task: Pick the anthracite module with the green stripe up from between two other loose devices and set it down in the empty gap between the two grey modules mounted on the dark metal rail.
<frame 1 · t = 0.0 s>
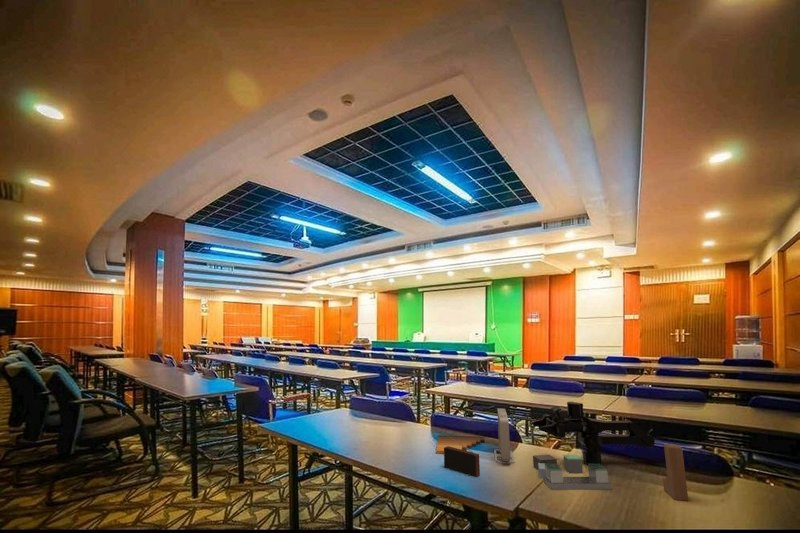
hand: (535, 425, 176), 17 cm above the table, tool horizontal, fingers open, 9 cm apart
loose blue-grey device: (545, 476, 159), on the table
network device: (503, 457, 183), on the table
radio: (459, 471, 165), on the table
module: (573, 471, 164), on the table
wooden block: (675, 496, 140), on the table
pan flute: (461, 448, 197), on the table
rail: (576, 485, 149), on the table
loose black device: (545, 469, 167), on the table
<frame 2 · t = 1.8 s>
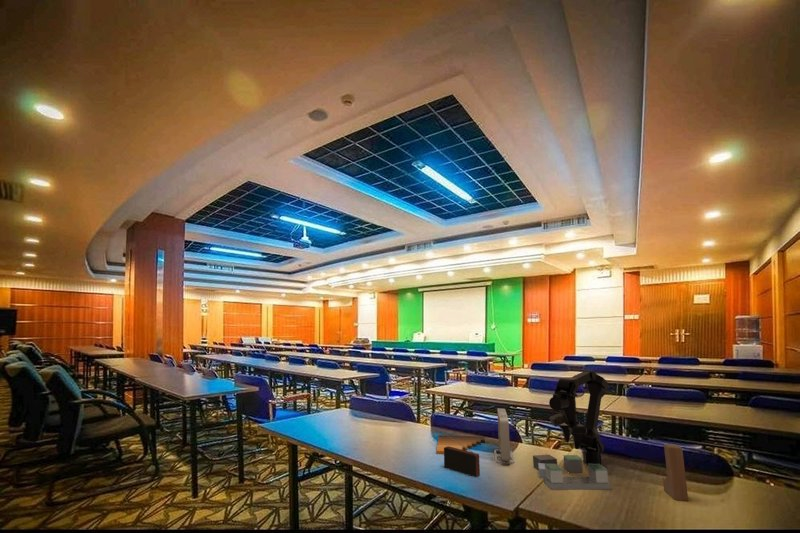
hand: (571, 445, 166), 11 cm above the table, tool pointing down, fingers open, 9 cm apart
nothing on the table moved.
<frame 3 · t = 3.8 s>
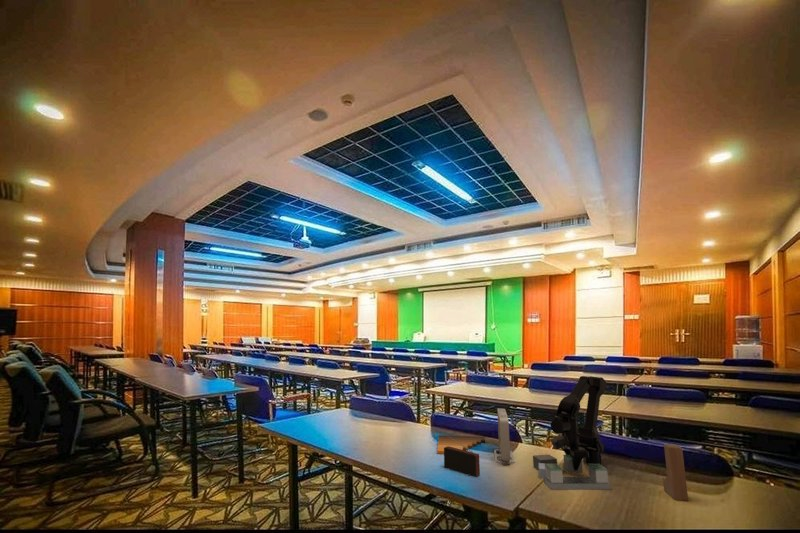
hand: (573, 468, 164), 1 cm above the table, tool pointing down, fingers closed on module, 4 cm apart
module: (573, 471, 164), on the table, touching gripper
everything else where it was.
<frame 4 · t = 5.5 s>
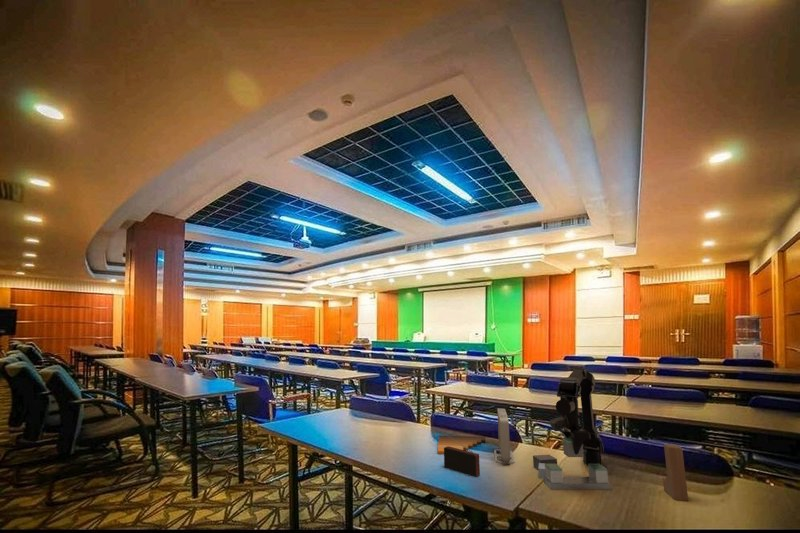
hand: (573, 452, 152), 12 cm above the table, tool pointing down, fingers closed on module, 4 cm apart
module: (573, 455, 152), point 11 cm above the table, touching gripper
everything else where it was.
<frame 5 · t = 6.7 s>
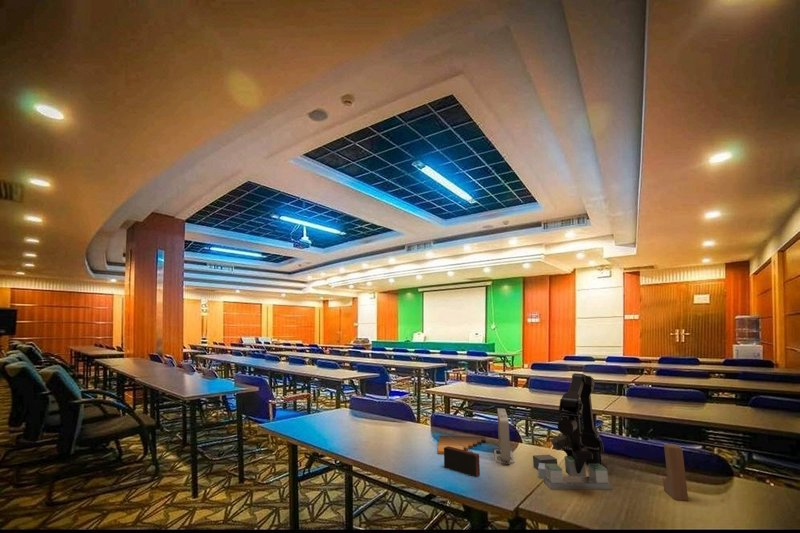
hand: (575, 470, 150), 5 cm above the table, tool pointing down, fingers closed on module, 4 cm apart
module: (575, 474, 150), point 4 cm above the table, touching gripper
everything else where it was.
when the fingers open (4 cm above the table, at t = 7.7 s): module drops 1 cm, resting on rail.
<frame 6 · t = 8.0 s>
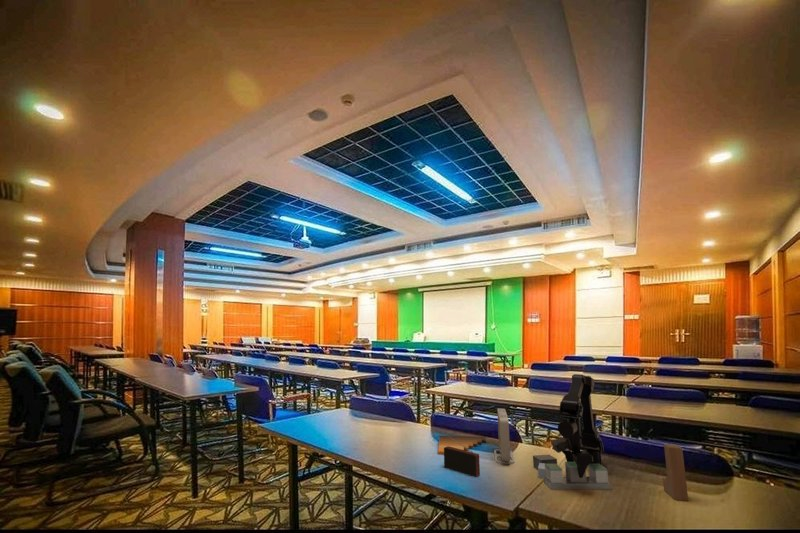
hand: (575, 473, 150), 4 cm above the table, tool pointing down, fingers open, 8 cm apart
module: (576, 480, 150), point 2 cm above the table, touching rail
everything else where it was.
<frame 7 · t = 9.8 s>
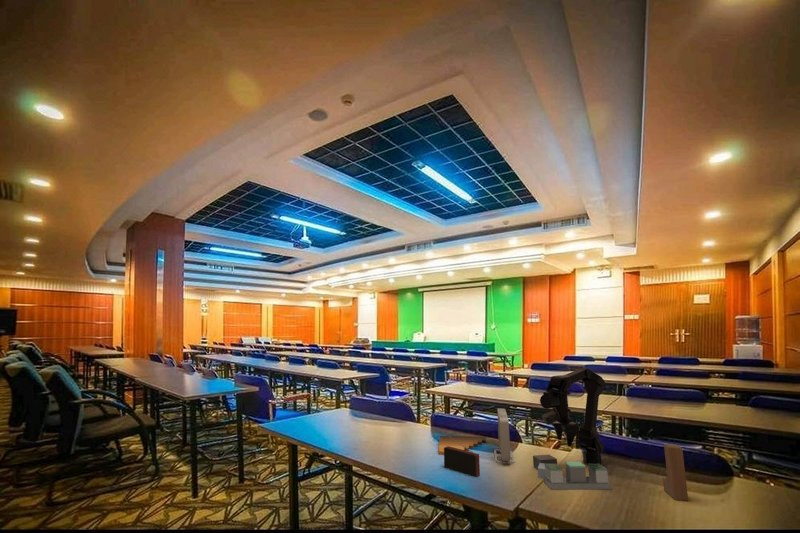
hand: (564, 443, 165), 12 cm above the table, tool pointing down, fingers open, 9 cm apart
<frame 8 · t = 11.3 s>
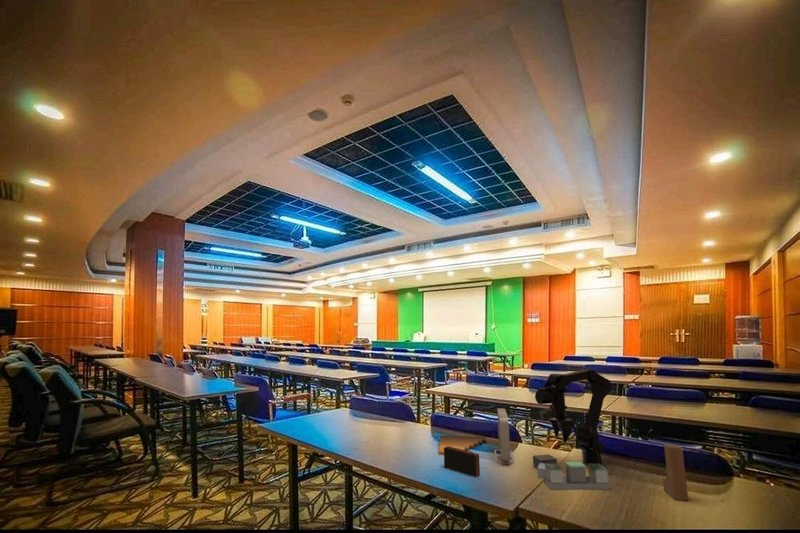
hand: (560, 439, 170), 12 cm above the table, tool pointing down, fingers open, 9 cm apart
at the end: module inside the target area on the rail (0.1 cm from its centre), point 2.0 cm above the rail's base; module tilted 0°; the gripper is holding nothing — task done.
